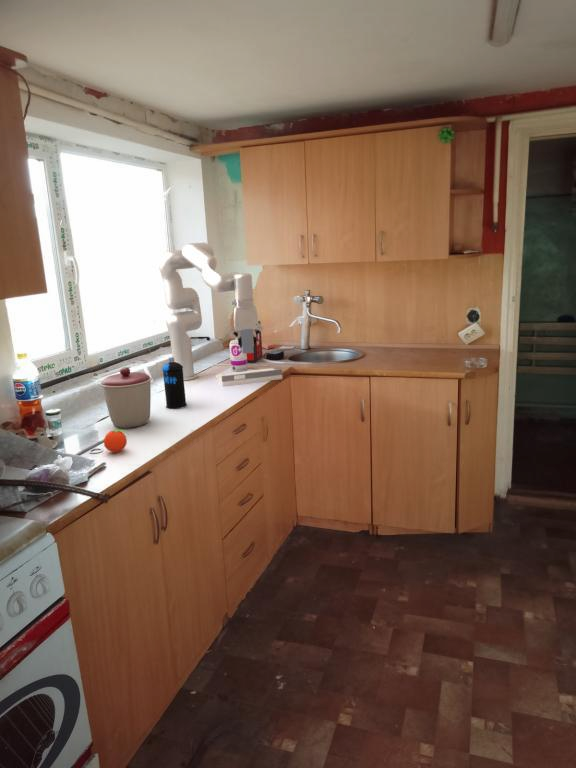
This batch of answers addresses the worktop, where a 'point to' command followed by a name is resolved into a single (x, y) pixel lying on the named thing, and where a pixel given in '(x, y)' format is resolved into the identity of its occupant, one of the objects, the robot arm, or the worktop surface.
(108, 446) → the clementine
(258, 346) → the cleaning product box
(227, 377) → the shelf board
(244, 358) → the supplement can
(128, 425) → the canister
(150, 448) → the worktop surface
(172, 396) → the aerosol can
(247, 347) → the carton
